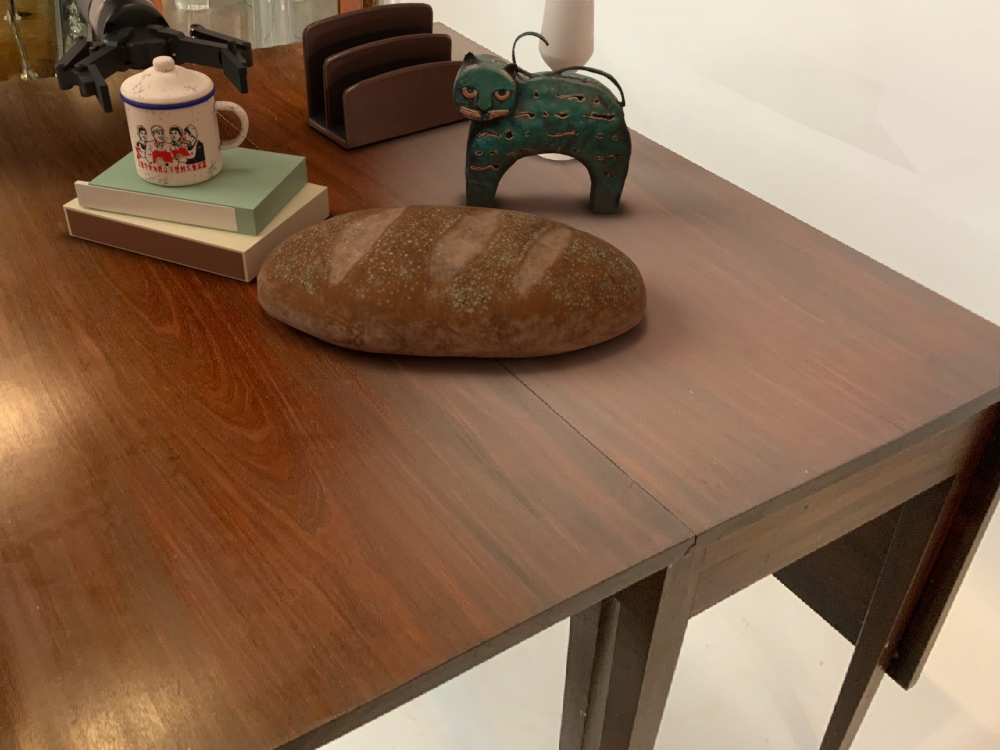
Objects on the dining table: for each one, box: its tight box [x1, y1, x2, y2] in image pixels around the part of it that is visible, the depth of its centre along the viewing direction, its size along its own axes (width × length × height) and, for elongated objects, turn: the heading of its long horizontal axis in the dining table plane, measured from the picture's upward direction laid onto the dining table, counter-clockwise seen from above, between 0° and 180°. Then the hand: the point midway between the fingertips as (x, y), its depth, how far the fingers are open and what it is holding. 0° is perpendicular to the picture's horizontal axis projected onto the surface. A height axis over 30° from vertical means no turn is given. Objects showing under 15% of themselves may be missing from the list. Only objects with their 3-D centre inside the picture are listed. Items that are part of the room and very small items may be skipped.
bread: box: [256, 203, 648, 358], centre depth 92 cm, size 22×37×8 cm, turn 90°
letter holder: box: [301, 2, 468, 151], centre depth 126 cm, size 10×20×14 cm, turn 129°
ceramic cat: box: [453, 31, 633, 215], centre depth 107 cm, size 20×6×20 cm, turn 91°
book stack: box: [62, 146, 330, 283], centre depth 104 cm, size 22×16×6 cm
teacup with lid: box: [119, 56, 250, 186], centre depth 98 cm, size 12×9×12 cm
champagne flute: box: [537, 0, 595, 161], centre depth 119 cm, size 7×7×24 cm
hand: (177, 90), depth 98 cm, fingers open, 13 cm apart
